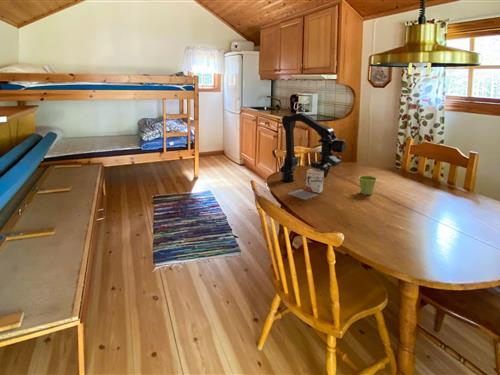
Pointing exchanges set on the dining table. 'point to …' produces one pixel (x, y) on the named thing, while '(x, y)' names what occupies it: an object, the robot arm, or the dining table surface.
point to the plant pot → (367, 184)
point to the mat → (302, 194)
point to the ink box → (314, 180)
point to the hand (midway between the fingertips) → (324, 177)
